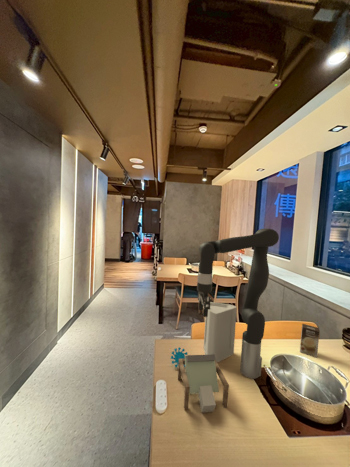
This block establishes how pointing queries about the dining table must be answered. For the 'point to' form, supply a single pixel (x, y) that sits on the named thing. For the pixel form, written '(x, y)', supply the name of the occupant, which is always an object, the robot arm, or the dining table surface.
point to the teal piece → (178, 356)
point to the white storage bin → (220, 330)
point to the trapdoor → (201, 372)
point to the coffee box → (309, 340)
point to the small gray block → (206, 399)
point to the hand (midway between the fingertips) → (202, 313)
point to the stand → (186, 398)
